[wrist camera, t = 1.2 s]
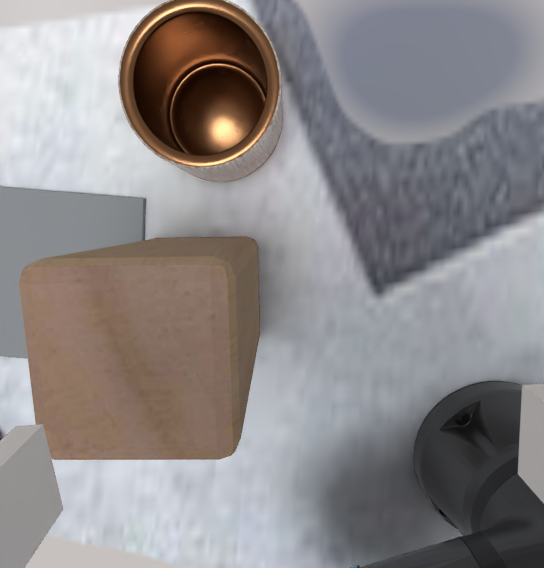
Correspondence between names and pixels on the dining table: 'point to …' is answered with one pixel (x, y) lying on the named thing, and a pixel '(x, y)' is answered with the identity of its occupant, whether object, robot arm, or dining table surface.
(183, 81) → the planter
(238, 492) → the dining table surface
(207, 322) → the wooden block
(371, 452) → the dining table surface
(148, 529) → the dining table surface
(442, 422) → the robot arm
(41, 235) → the mat
